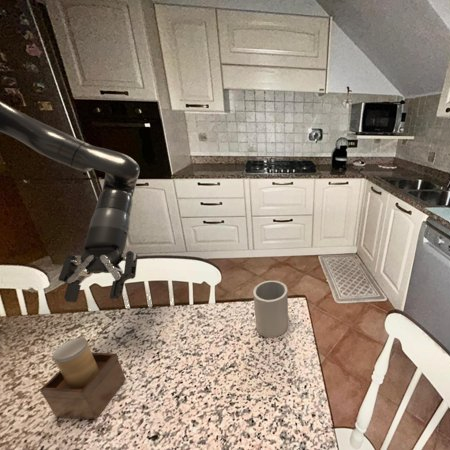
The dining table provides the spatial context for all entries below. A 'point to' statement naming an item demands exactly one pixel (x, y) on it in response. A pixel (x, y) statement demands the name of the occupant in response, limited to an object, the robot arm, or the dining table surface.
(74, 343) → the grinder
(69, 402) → the box
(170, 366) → the dining table surface
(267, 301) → the cup
